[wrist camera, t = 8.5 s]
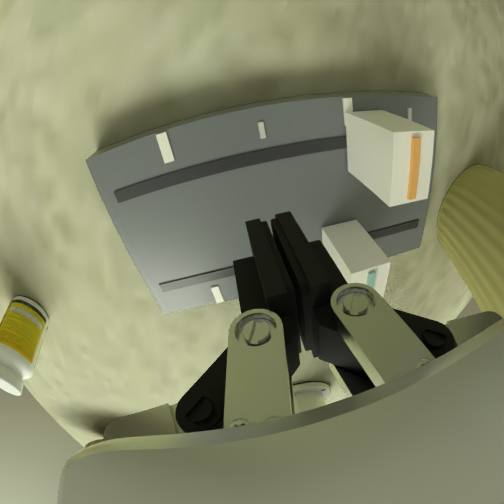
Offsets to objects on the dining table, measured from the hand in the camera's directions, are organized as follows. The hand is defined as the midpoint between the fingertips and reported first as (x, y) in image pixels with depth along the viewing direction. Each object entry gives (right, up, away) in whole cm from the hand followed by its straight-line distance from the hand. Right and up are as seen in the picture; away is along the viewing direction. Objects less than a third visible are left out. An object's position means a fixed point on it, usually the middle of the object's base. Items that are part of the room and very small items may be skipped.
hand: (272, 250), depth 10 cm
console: (+2, +4, +9) cm, 10 cm away
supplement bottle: (-25, -7, +12) cm, 29 cm away
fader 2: (+6, 0, +10) cm, 12 cm away
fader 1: (+6, +7, +5) cm, 11 cm away
